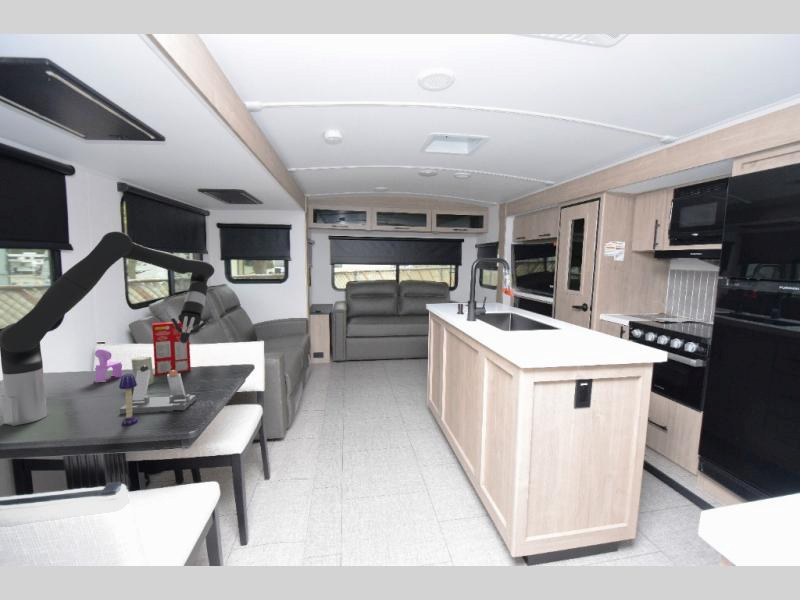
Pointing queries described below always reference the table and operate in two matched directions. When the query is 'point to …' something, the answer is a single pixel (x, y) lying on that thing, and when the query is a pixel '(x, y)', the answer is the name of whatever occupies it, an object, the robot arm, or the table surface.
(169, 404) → the switch panel
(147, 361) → the skincare box
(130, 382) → the toy lamp
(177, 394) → the copper knob lever
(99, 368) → the toy chair
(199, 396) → the table surface
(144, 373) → the black knob lever
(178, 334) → the food packaging
